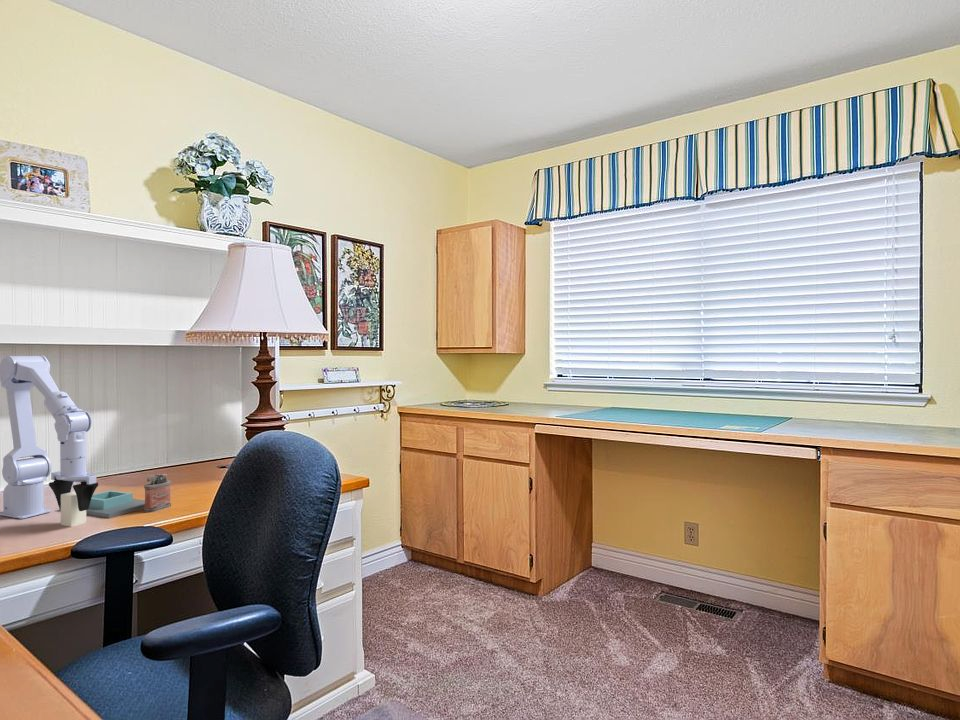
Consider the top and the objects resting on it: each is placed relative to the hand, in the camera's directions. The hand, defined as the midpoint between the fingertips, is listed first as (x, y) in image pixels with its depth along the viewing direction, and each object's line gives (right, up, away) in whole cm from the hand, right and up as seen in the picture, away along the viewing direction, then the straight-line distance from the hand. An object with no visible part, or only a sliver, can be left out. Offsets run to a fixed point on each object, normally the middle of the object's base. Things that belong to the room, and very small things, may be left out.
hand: (73, 508), depth 158 cm
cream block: (0, -4, 0) cm, 4 cm away
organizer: (-1, -4, +15) cm, 16 cm away
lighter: (+14, -4, +15) cm, 21 cm away
